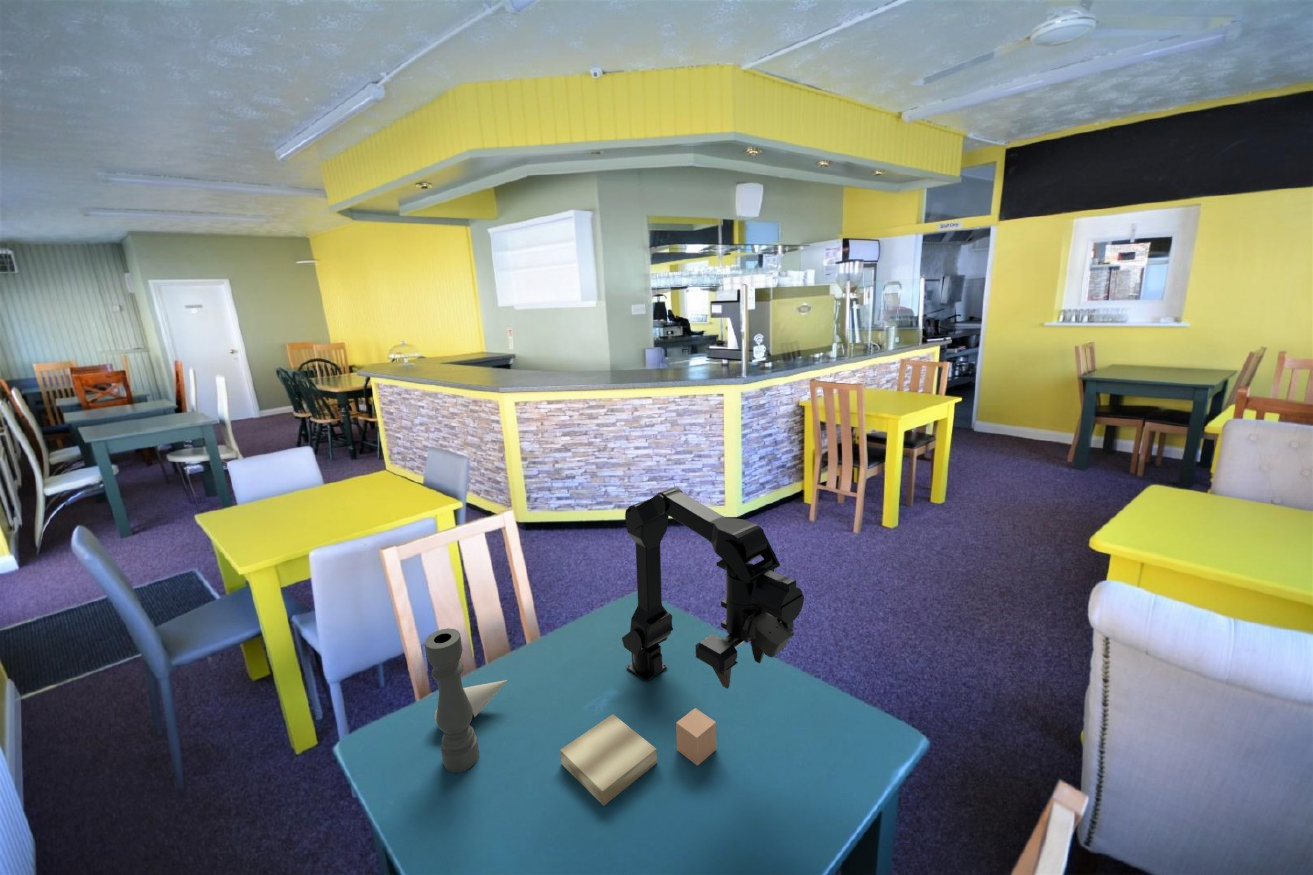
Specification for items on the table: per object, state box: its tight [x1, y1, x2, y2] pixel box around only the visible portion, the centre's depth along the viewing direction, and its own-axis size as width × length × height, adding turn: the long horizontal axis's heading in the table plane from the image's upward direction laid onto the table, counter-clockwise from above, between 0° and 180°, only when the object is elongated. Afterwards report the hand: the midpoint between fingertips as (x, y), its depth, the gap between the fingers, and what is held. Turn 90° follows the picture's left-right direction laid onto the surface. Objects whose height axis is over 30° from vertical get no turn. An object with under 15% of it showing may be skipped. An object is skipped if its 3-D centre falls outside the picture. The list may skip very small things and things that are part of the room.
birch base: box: [559, 713, 658, 807], centre depth 101 cm, size 12×12×3 cm
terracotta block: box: [675, 708, 717, 766], centre depth 103 cm, size 5×5×6 cm
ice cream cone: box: [433, 679, 509, 726], centre depth 114 cm, size 6×6×15 cm
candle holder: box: [424, 628, 480, 774], centre depth 100 cm, size 6×6×25 cm
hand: (742, 674), depth 102 cm, fingers open, 9 cm apart
